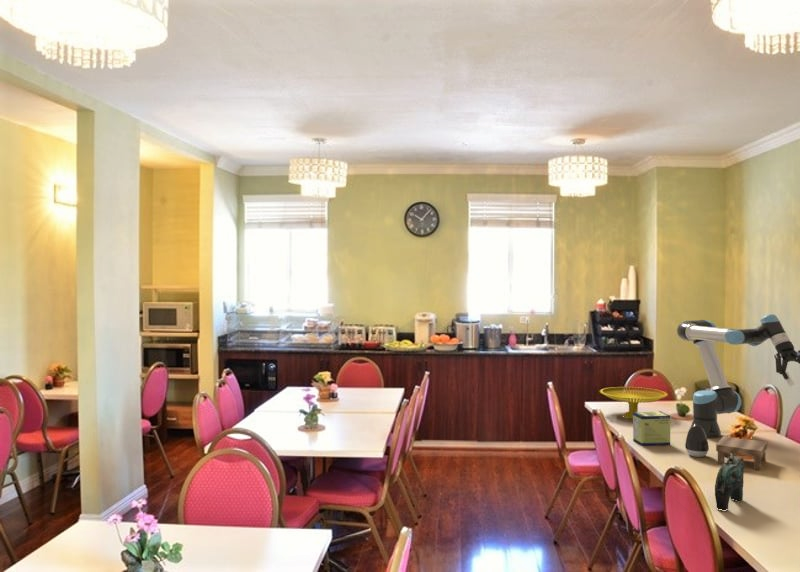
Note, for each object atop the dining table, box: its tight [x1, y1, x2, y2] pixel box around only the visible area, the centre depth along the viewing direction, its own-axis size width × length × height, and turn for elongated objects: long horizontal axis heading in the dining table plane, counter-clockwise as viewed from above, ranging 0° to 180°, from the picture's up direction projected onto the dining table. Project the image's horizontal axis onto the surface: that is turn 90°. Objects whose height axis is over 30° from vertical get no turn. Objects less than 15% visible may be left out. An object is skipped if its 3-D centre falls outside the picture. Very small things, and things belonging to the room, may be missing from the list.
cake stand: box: [598, 386, 669, 419], centre depth 370 cm, size 40×40×15 cm
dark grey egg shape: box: [684, 424, 710, 458], centre depth 286 cm, size 10×10×15 cm
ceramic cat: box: [714, 451, 745, 510], centre depth 224 cm, size 20×6×20 cm, turn 131°
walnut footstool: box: [715, 435, 768, 472], centre depth 275 cm, size 18×18×9 cm
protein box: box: [632, 410, 671, 447], centre depth 310 cm, size 10×16×16 cm
